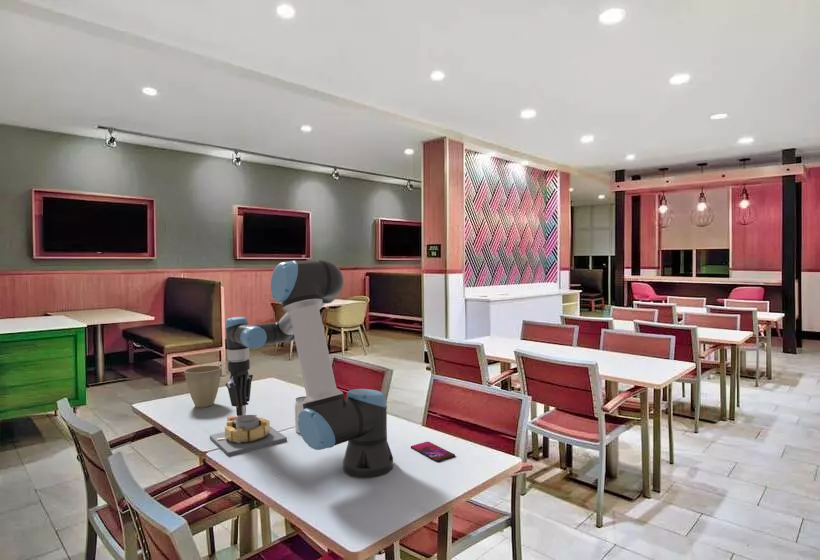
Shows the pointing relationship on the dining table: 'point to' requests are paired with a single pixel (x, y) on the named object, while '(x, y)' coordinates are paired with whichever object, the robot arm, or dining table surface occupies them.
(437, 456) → the smartphone
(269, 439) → the base
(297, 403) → the can
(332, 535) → the dining table surface
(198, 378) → the plant pot
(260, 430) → the ring nut
